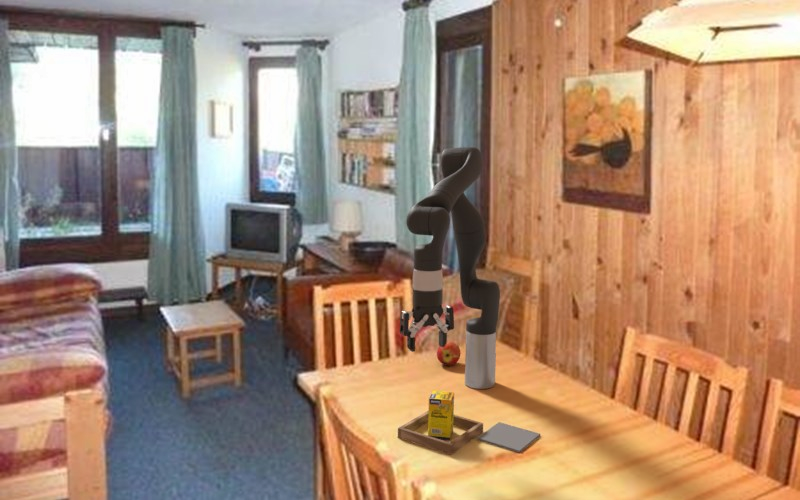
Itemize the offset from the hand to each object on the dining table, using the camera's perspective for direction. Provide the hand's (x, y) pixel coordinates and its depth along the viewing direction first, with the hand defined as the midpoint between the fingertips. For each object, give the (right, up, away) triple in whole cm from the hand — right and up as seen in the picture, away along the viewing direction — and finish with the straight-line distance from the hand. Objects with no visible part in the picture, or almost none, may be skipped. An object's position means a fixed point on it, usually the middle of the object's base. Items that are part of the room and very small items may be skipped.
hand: (426, 348), depth 174 cm
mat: (+21, -23, +2) cm, 32 cm away
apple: (+10, -14, +58) cm, 61 cm away
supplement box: (+4, -23, +4) cm, 24 cm away
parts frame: (+4, -23, +4) cm, 24 cm away
